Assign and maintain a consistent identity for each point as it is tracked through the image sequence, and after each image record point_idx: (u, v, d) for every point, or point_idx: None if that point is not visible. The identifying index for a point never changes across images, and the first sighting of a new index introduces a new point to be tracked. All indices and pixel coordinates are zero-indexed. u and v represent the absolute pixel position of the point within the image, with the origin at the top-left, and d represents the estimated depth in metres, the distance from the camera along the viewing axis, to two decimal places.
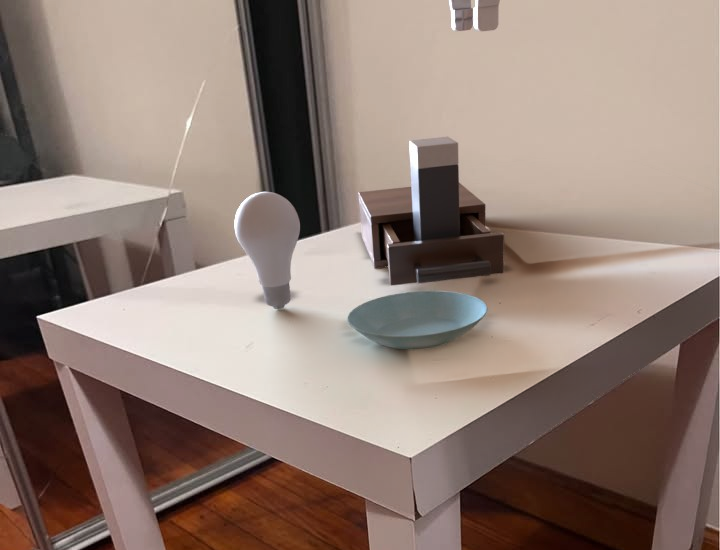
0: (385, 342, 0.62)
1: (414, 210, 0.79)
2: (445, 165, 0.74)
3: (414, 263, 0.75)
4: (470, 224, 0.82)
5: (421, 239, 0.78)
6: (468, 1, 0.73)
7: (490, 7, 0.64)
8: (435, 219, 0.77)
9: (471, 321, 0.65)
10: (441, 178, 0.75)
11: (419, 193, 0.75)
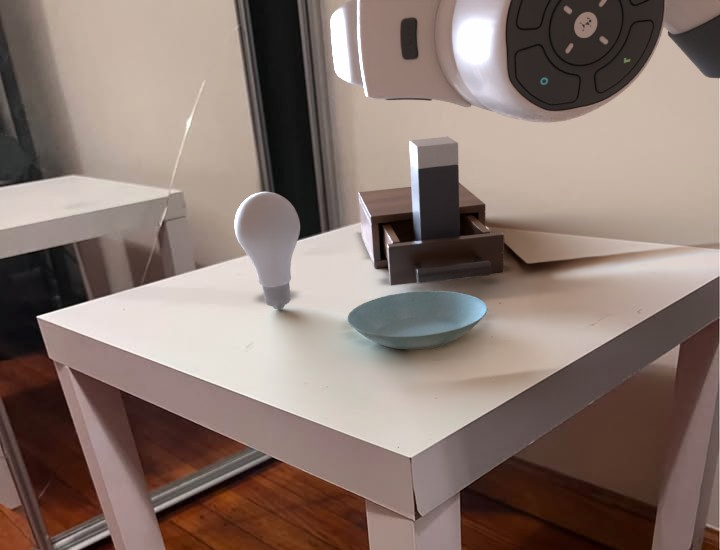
0: (385, 342, 0.62)
1: (414, 210, 0.79)
2: (445, 165, 0.74)
3: (414, 263, 0.75)
4: (470, 224, 0.82)
5: (421, 239, 0.78)
6: None
7: None
8: (435, 219, 0.77)
9: (471, 321, 0.65)
10: (441, 178, 0.75)
11: (419, 193, 0.75)
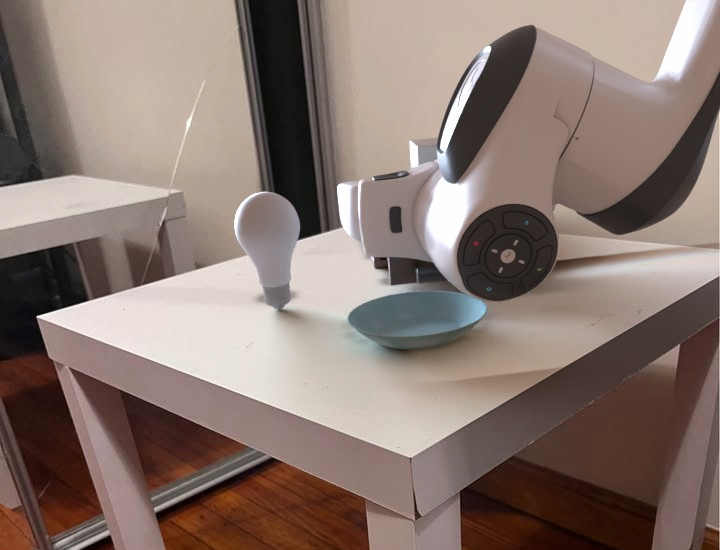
0: (385, 342, 0.62)
1: None
2: None
3: (414, 263, 0.75)
4: None
5: None
6: None
7: None
8: None
9: (471, 321, 0.65)
10: None
11: None
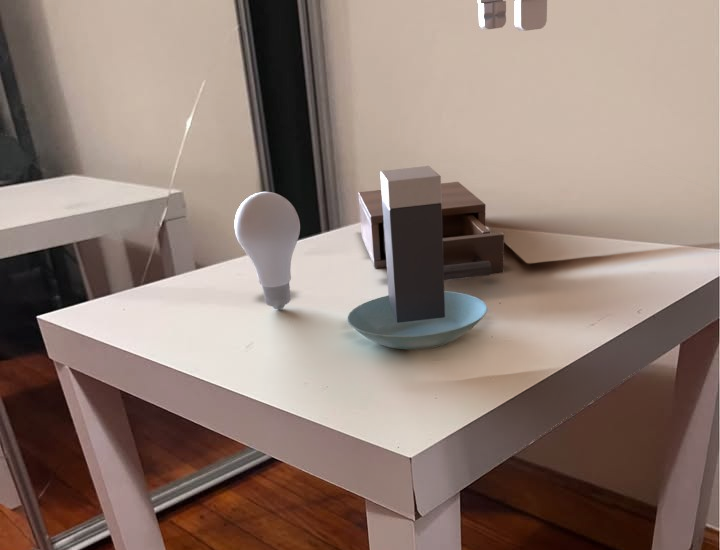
0: (385, 342, 0.62)
1: (387, 257, 0.63)
2: (424, 204, 0.58)
3: None
4: (470, 224, 0.82)
5: (395, 295, 0.61)
6: None
7: (537, 0, 0.51)
8: (413, 271, 0.61)
9: (471, 321, 0.65)
10: (420, 221, 0.59)
11: (392, 239, 0.59)
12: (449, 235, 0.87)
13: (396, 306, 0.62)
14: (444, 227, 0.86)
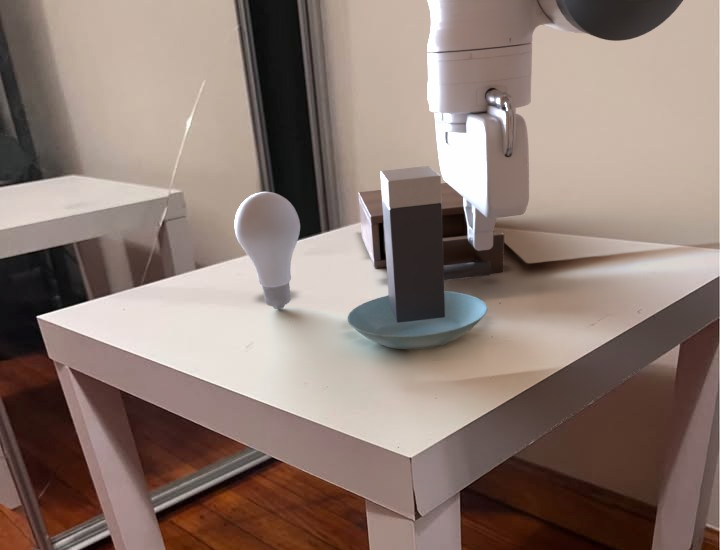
0: (385, 342, 0.62)
1: (387, 257, 0.63)
2: (424, 204, 0.58)
3: None
4: None
5: (395, 295, 0.61)
6: None
7: (486, 232, 0.72)
8: (413, 271, 0.61)
9: (471, 321, 0.65)
10: (420, 221, 0.59)
11: (392, 239, 0.59)
12: (449, 235, 0.87)
13: (396, 306, 0.62)
14: (444, 227, 0.86)
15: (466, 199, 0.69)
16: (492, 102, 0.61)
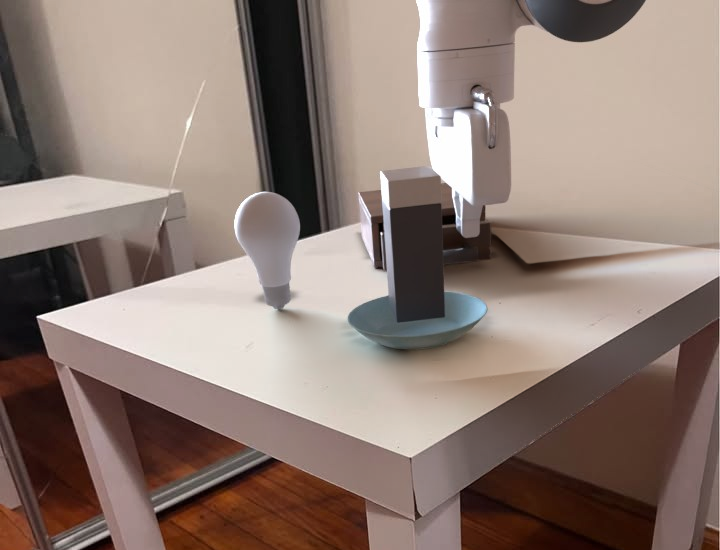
0: (385, 342, 0.62)
1: (387, 257, 0.63)
2: (424, 204, 0.58)
3: None
4: None
5: (395, 295, 0.61)
6: None
7: (472, 220, 0.76)
8: (413, 271, 0.61)
9: (471, 321, 0.65)
10: (420, 221, 0.59)
11: (392, 239, 0.59)
12: None
13: (396, 306, 0.62)
14: None
15: (454, 189, 0.74)
16: (477, 98, 0.66)
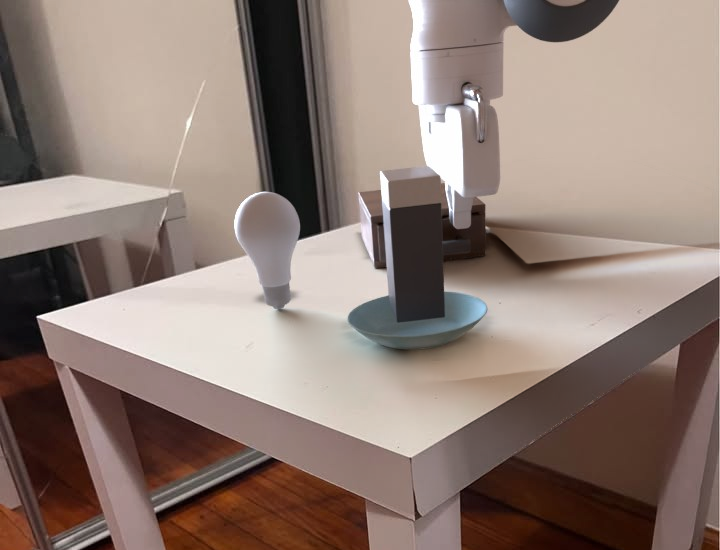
0: (385, 342, 0.62)
1: (387, 257, 0.63)
2: (424, 204, 0.58)
3: None
4: None
5: (395, 295, 0.61)
6: None
7: (464, 212, 0.80)
8: (413, 271, 0.61)
9: (471, 321, 0.65)
10: (420, 221, 0.59)
11: (392, 239, 0.59)
12: None
13: (396, 306, 0.62)
14: None
15: (446, 182, 0.77)
16: (467, 94, 0.69)
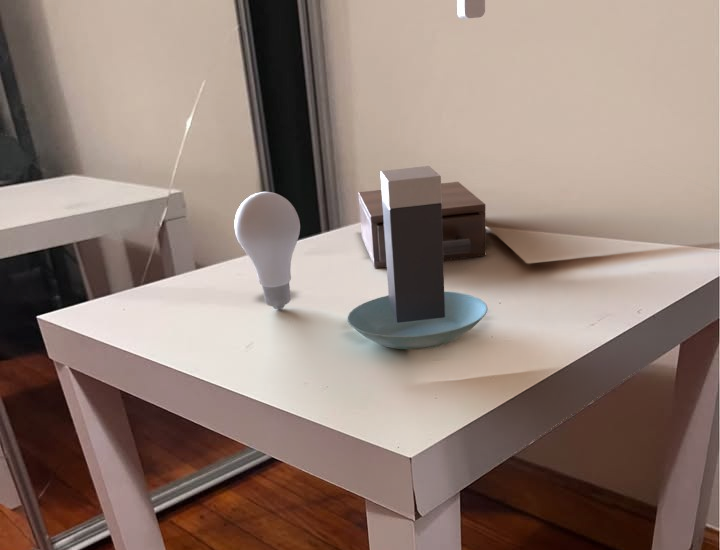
0: (385, 342, 0.62)
1: (387, 257, 0.63)
2: (424, 204, 0.58)
3: None
4: None
5: (395, 295, 0.61)
6: None
7: None
8: (413, 271, 0.61)
9: (471, 321, 0.65)
10: (420, 221, 0.59)
11: (392, 239, 0.59)
12: None
13: (396, 306, 0.62)
14: None
15: None
16: None
